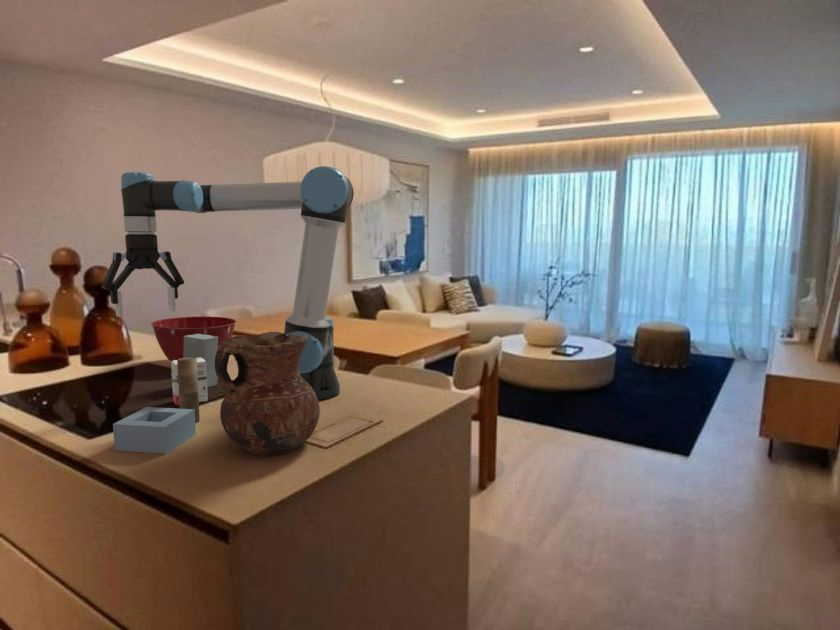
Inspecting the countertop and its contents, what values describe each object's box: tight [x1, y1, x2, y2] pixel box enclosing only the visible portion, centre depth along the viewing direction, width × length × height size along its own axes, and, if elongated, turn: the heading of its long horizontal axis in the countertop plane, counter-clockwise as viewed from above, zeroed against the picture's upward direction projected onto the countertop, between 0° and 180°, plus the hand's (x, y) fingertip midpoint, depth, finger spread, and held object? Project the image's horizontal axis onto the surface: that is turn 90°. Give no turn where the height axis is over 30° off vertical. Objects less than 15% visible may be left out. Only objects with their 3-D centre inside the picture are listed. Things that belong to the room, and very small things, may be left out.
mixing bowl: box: [150, 316, 237, 362], centre depth 198 cm, size 28×28×15 cm
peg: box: [177, 357, 201, 424], centre depth 137 cm, size 4×4×16 cm
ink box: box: [170, 358, 209, 406], centre depth 153 cm, size 8×5×12 cm, turn 123°
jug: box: [215, 331, 321, 457], centre depth 121 cm, size 22×21×25 cm
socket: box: [112, 406, 197, 455], centre depth 124 cm, size 12×12×6 cm
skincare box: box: [183, 334, 218, 389], centre depth 169 cm, size 8×7×16 cm
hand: (146, 313), depth 146 cm, fingers open, 13 cm apart
